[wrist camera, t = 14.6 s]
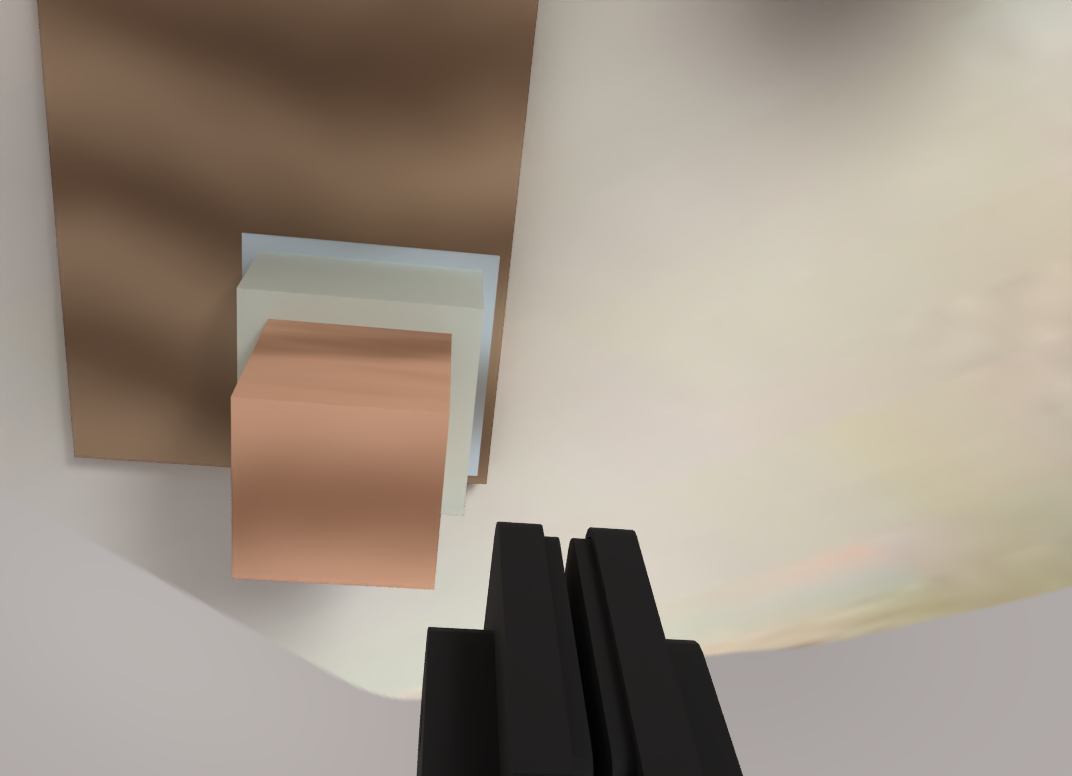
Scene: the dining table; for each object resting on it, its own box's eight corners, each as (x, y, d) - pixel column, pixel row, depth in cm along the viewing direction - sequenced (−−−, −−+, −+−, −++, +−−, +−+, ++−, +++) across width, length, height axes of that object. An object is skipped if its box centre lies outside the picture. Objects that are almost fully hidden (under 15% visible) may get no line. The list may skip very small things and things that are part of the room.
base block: (258, 250, 37) (236, 288, 33) (482, 270, 37) (483, 308, 34) (258, 448, 40) (238, 501, 36) (463, 462, 41) (463, 515, 37)
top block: (268, 318, 33) (231, 397, 28) (452, 333, 34) (450, 413, 29) (267, 477, 36) (232, 578, 31) (438, 489, 37) (434, 589, 31)
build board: (42, -114, 33) (26, -115, 31) (541, -53, 34) (544, -52, 33) (85, 442, 41) (73, 458, 40) (485, 469, 42) (486, 485, 41)
